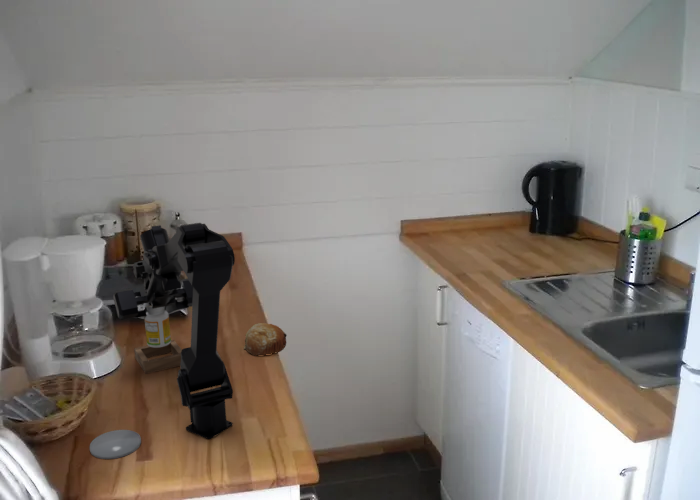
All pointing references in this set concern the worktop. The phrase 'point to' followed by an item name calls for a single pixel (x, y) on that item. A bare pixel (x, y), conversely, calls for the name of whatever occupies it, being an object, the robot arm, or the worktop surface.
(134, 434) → the slate coaster
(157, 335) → the supplement bottle
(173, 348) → the rectangular wooden frame
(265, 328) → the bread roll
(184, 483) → the worktop surface
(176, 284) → the robot arm
